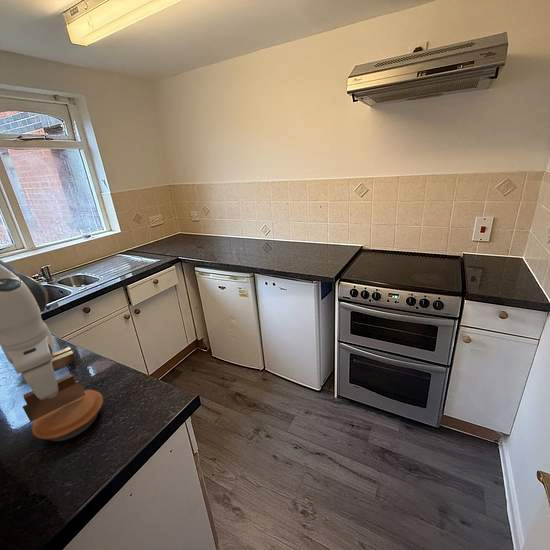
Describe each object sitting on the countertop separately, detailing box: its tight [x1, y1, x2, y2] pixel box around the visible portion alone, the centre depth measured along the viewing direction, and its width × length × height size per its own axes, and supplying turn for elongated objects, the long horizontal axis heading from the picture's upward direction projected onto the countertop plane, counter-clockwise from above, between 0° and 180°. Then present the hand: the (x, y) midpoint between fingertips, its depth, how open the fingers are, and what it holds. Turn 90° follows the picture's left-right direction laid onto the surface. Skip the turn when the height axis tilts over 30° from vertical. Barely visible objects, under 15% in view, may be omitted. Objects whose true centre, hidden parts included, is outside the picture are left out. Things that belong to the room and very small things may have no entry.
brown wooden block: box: [22, 373, 86, 423], centre depth 74 cm, size 12×2×7 cm, turn 132°
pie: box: [31, 389, 104, 442], centre depth 76 cm, size 15×16×5 cm
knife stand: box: [20, 346, 77, 383], centre depth 99 cm, size 14×6×4 cm, turn 132°
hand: (52, 392), depth 74 cm, fingers closed on brown wooden block, 2 cm apart
